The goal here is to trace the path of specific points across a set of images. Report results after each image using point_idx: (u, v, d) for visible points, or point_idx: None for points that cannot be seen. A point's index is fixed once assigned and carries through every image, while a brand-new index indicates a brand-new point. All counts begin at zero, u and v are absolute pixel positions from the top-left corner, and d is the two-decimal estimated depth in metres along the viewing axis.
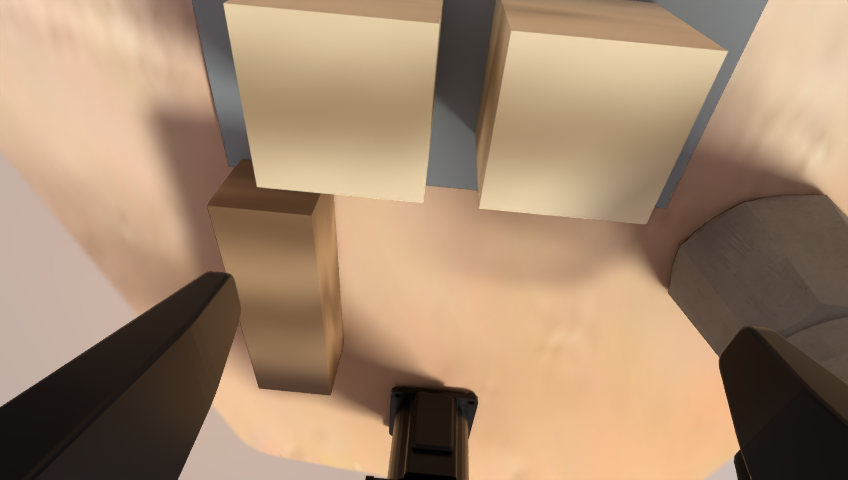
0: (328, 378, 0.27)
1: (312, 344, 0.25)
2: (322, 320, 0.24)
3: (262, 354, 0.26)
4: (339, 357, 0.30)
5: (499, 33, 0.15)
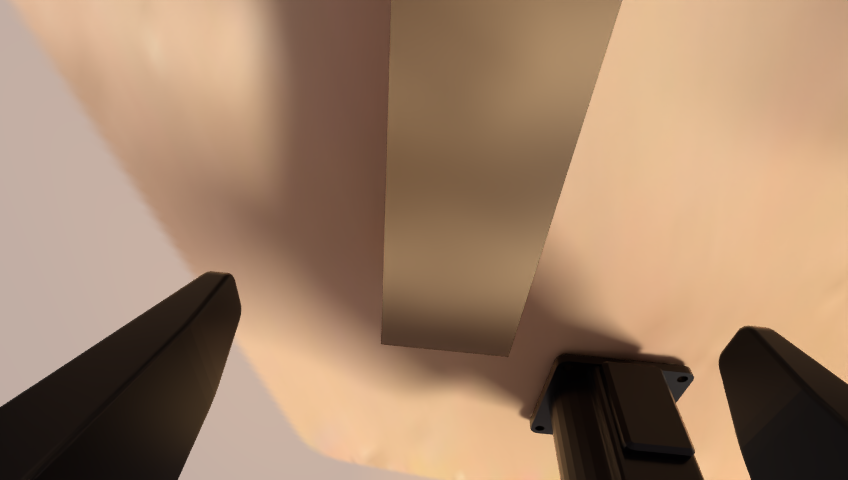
0: (517, 322, 0.15)
1: (517, 247, 0.13)
2: (561, 186, 0.12)
3: (409, 272, 0.14)
4: None
5: None
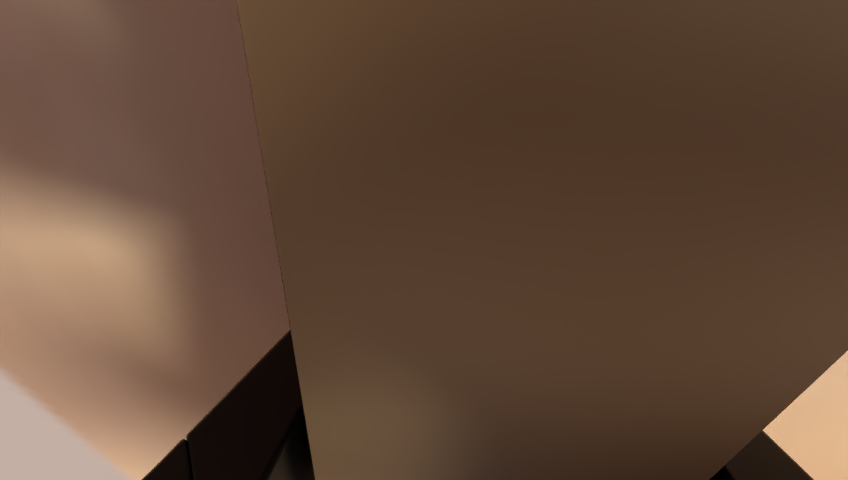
0: None
1: None
2: None
3: None
4: None
5: None
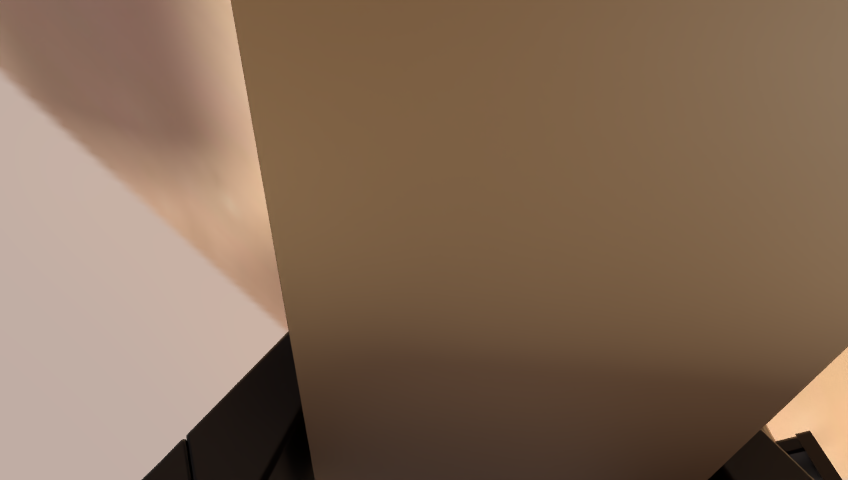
0: None
1: None
2: None
3: None
4: None
5: None
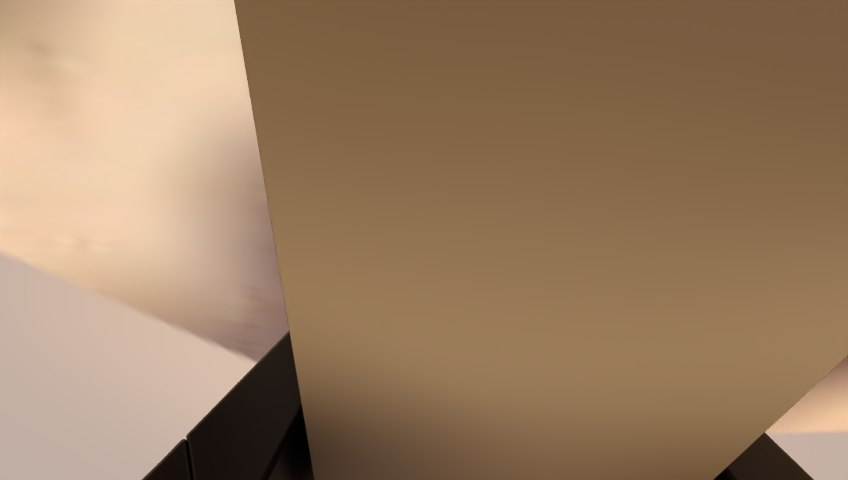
0: None
1: None
2: None
3: None
4: None
5: None
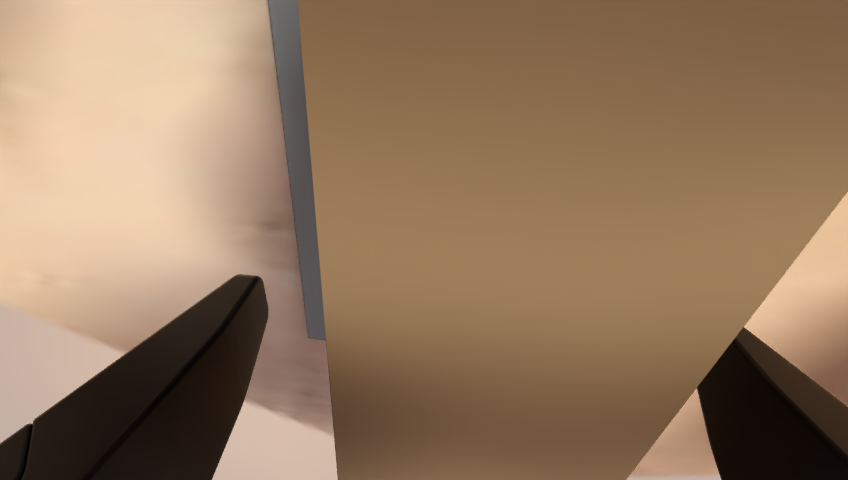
0: None
1: None
2: (650, 441, 0.06)
3: None
4: None
5: None
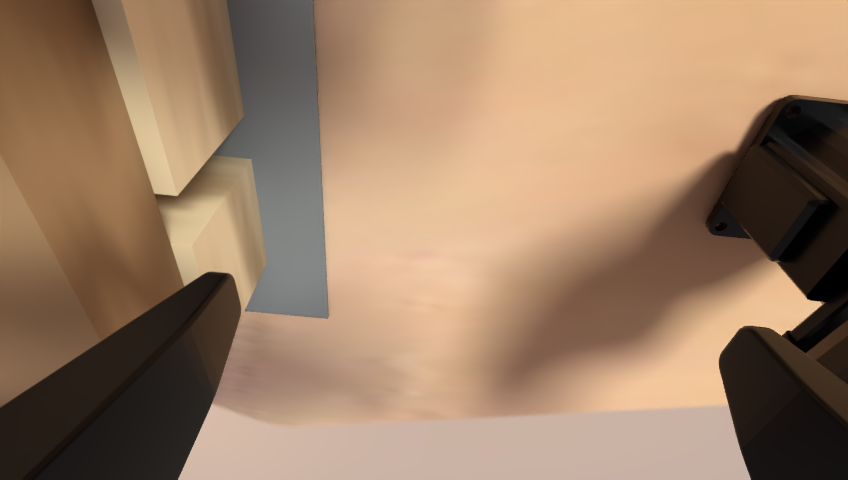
0: None
1: None
2: (84, 308, 0.12)
3: (0, 378, 0.14)
4: None
5: None
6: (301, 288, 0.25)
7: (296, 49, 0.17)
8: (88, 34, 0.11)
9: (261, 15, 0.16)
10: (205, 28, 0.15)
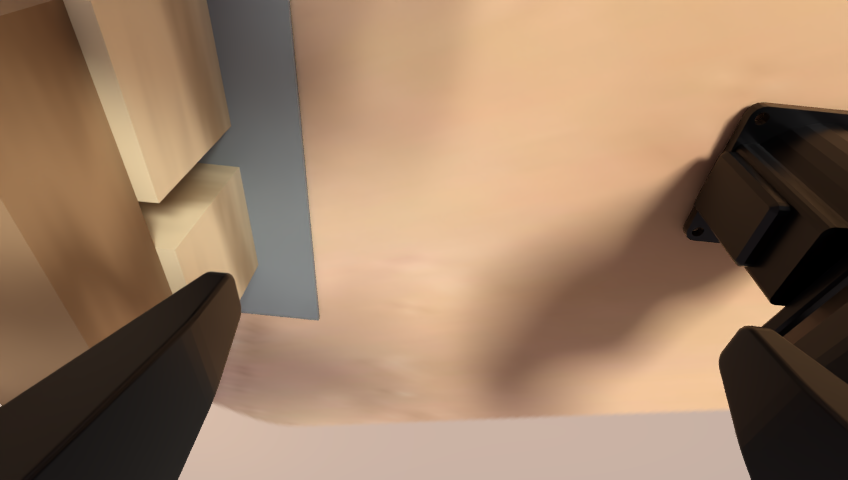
0: None
1: (71, 354, 0.14)
2: (66, 308, 0.12)
3: None
4: None
5: None
6: (292, 290, 0.26)
7: (277, 63, 0.18)
8: (69, 56, 0.12)
9: (242, 31, 0.17)
10: (187, 45, 0.16)
